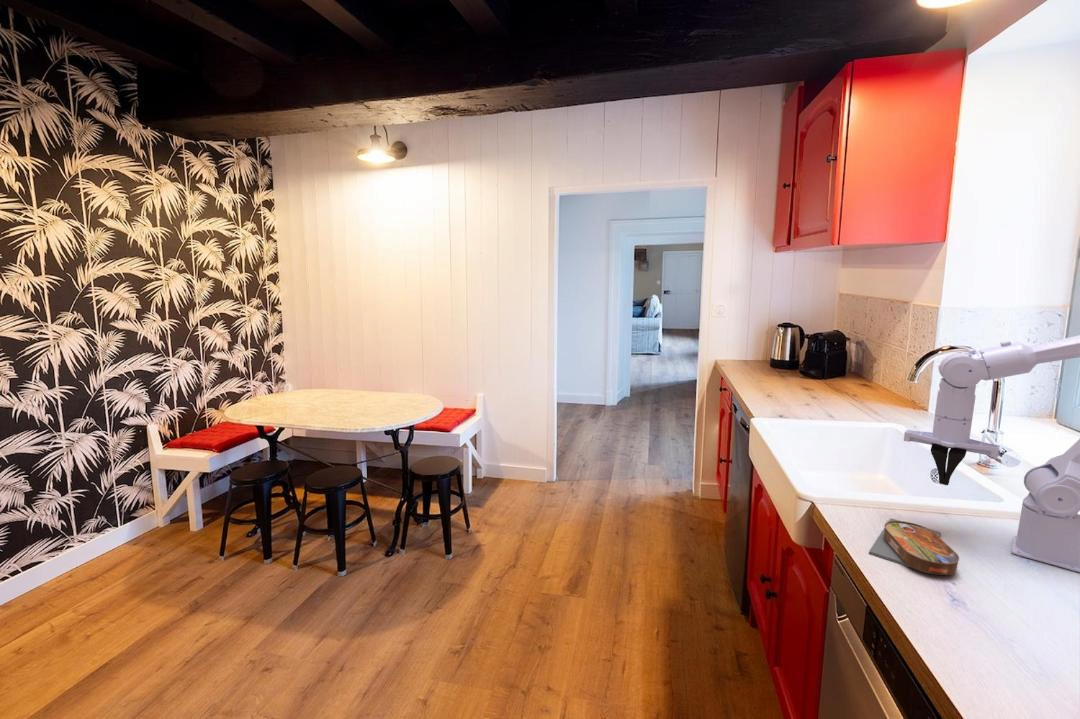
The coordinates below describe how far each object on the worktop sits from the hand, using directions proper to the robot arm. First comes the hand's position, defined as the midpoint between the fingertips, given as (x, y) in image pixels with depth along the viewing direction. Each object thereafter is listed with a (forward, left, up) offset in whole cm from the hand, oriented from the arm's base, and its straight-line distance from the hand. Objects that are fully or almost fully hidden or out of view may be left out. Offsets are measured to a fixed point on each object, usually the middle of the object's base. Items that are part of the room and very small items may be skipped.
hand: (944, 483), depth 104 cm
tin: (-2, +11, -9) cm, 14 cm away
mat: (+4, +10, -10) cm, 15 cm away
